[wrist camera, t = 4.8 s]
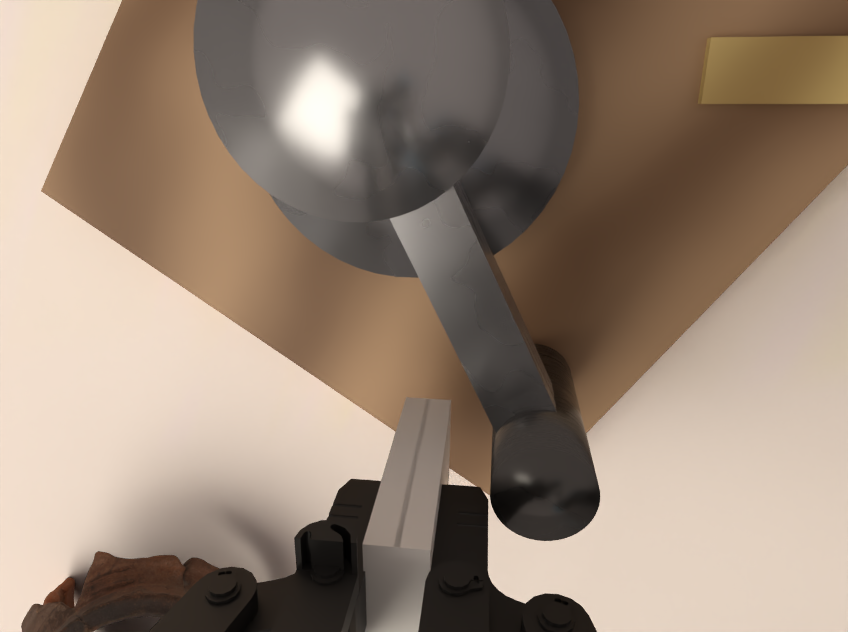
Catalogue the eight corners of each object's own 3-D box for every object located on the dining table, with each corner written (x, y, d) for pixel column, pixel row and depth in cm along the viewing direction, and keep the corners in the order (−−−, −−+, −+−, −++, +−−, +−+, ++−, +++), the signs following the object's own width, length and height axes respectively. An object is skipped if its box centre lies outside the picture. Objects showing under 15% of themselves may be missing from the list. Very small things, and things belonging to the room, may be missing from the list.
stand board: (957, 22, 16) (1087, 1, 12) (511, 489, 22) (512, 562, 19) (345, -502, 14) (291, -707, 10) (53, 177, 21) (-42, 193, 17)
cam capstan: (197, 34, 17) (39, 2, 11) (493, -148, 15) (485, -308, 9) (422, 451, 21) (390, 589, 15) (686, 358, 18) (770, 478, 13)
